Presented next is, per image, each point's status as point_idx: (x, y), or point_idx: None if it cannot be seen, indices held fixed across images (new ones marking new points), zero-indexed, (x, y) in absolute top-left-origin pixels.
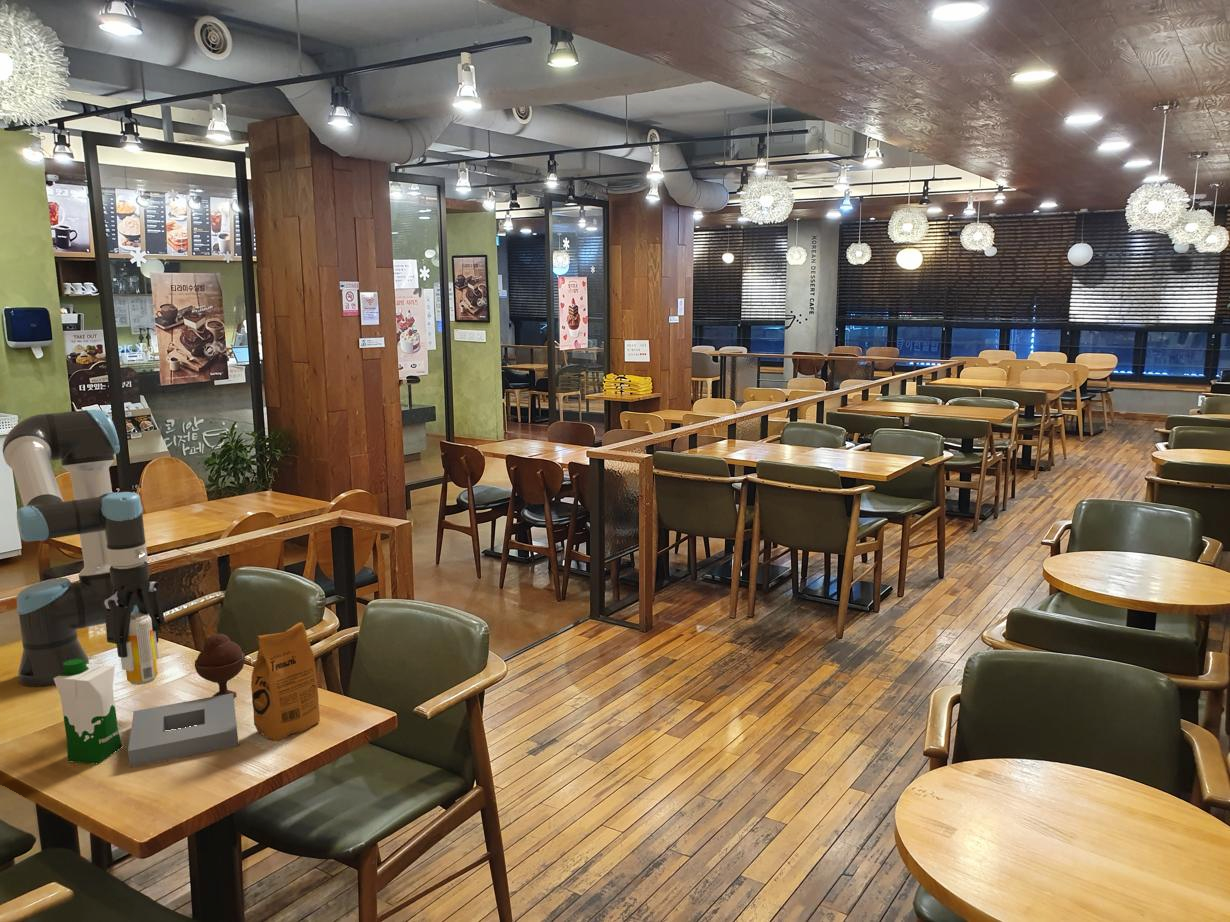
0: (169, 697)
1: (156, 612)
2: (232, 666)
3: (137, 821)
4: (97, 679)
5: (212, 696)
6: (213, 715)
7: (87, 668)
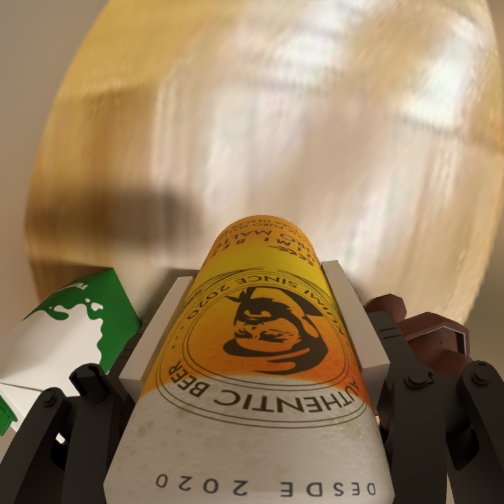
0: (350, 200)
1: (462, 487)
2: None
3: None
4: None
5: (375, 305)
6: None
7: (15, 418)
